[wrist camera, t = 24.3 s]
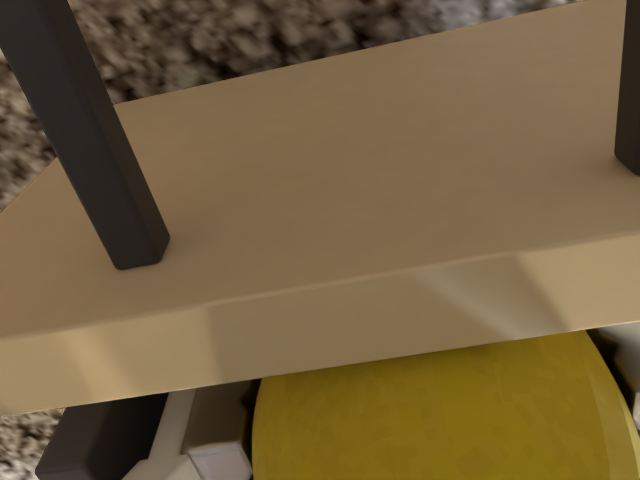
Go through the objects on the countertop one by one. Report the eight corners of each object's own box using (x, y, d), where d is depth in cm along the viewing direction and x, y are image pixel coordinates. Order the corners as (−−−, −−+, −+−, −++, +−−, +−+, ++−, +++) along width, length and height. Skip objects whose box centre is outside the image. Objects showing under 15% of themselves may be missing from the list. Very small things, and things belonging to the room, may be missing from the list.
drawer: (6, -124, 11) (-667, -160, 4) (656, -309, 9) (1910, -1071, 2) (270, 472, 22) (241, 775, 14) (593, 431, 20) (750, 746, 13)
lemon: (573, 295, 12) (891, 811, 5) (370, 399, 14) (413, 875, 7) (443, 105, 10) (716, 599, 3) (220, 261, 12) (75, 778, 5)
